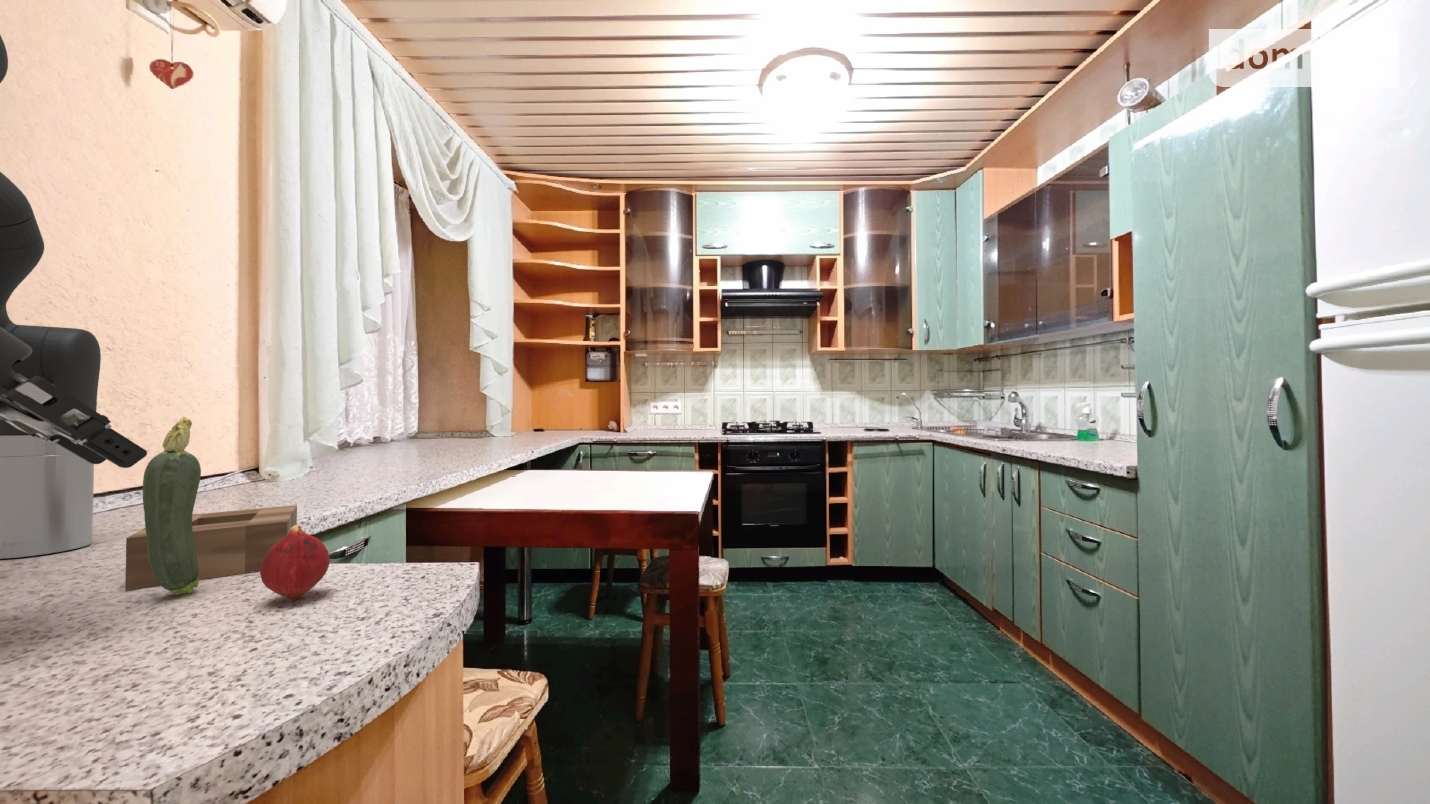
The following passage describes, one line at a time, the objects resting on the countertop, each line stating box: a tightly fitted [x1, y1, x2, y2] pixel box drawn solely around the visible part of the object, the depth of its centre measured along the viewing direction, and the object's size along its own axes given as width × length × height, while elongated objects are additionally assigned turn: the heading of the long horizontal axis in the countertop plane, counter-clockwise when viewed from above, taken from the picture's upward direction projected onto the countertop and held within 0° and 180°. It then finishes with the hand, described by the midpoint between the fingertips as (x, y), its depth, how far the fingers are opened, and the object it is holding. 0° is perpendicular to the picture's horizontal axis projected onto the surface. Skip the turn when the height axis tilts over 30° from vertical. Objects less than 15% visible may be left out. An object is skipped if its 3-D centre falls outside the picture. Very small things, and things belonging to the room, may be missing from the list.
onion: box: [259, 524, 331, 600], centre depth 54 cm, size 6×6×8 cm
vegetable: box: [142, 416, 202, 596], centre depth 55 cm, size 4×4×20 cm
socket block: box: [124, 504, 298, 591], centre depth 66 cm, size 14×14×6 cm
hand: (121, 459), depth 51 cm, fingers open, 8 cm apart
